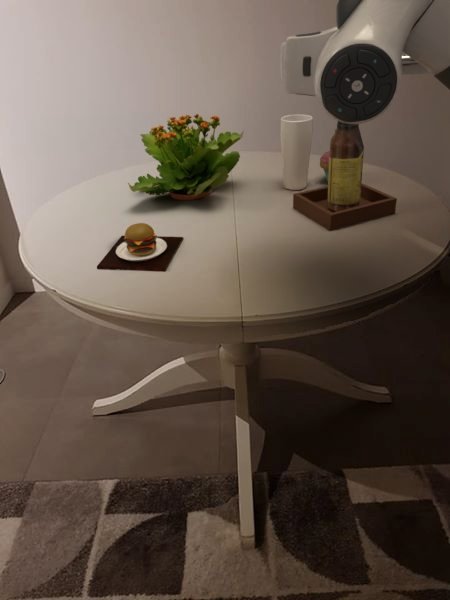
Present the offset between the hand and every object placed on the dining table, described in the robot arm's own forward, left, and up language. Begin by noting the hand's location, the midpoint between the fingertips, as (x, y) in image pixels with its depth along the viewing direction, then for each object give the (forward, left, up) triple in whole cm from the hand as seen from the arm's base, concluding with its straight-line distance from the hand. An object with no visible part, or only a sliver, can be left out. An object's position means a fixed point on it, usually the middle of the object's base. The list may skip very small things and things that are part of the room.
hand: (356, 50), depth 67 cm
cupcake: (-17, -25, -30) cm, 42 cm away
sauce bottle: (-7, -9, -29) cm, 31 cm away
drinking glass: (-7, -27, -30) cm, 40 cm away
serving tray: (-7, -10, -30) cm, 32 cm away
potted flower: (+14, -37, -30) cm, 49 cm away
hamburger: (+33, -13, -30) cm, 46 cm away
